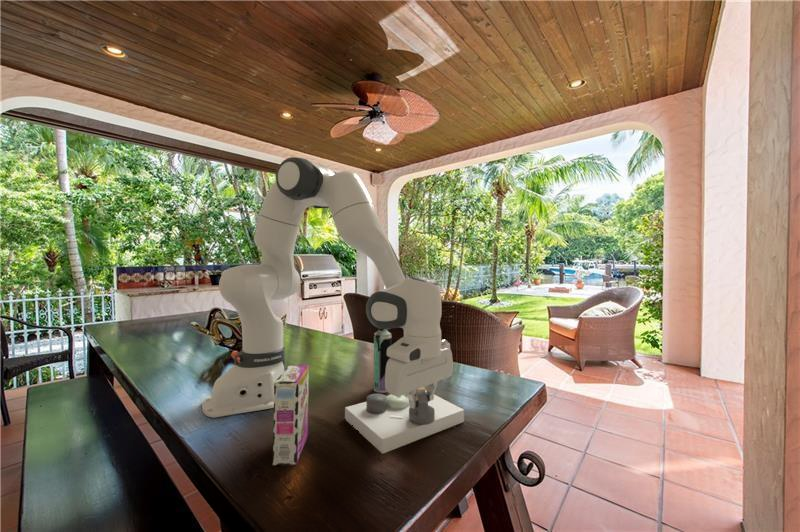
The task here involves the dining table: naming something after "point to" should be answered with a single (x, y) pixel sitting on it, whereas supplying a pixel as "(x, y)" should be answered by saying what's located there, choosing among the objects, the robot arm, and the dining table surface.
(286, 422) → the candy bar box
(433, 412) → the wing knob
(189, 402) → the dining table surface
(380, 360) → the spray can
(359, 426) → the base
